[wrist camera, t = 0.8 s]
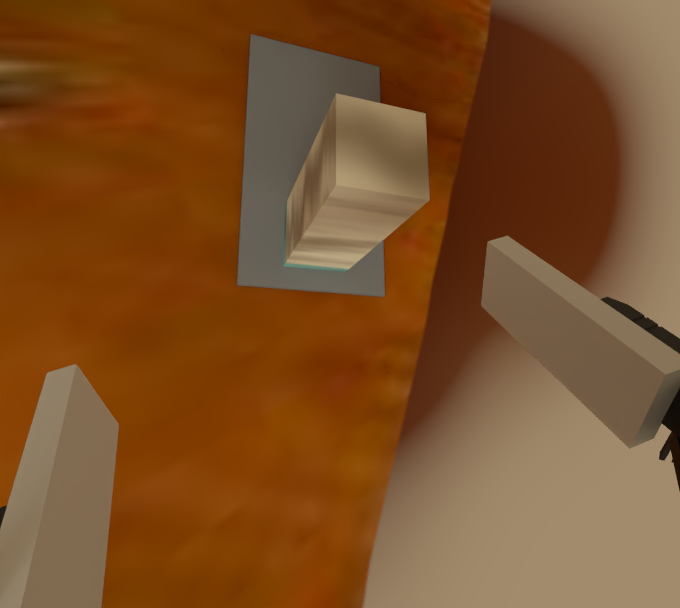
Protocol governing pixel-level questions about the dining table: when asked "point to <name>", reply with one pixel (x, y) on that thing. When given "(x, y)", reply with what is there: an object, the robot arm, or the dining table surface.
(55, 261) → the dining table surface
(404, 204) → the birch block
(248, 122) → the rubber mat
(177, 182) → the dining table surface
